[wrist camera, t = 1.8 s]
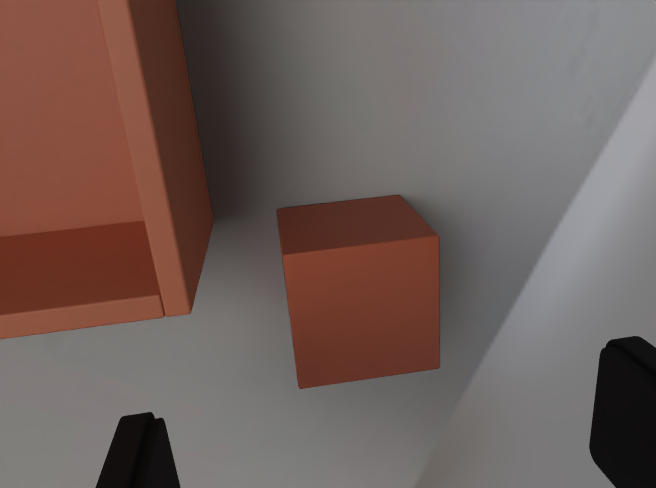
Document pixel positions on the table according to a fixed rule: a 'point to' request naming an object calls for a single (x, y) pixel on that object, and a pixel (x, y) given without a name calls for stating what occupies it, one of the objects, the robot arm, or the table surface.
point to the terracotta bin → (97, 166)
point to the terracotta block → (361, 289)
